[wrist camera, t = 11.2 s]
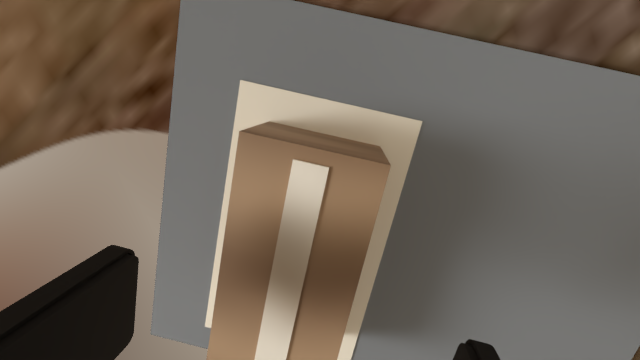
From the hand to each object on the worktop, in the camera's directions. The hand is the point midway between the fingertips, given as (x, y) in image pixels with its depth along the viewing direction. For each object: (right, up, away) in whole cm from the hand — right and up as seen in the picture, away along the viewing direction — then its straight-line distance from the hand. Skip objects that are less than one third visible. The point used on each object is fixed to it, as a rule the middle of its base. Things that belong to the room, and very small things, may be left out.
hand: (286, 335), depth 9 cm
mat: (+5, +2, +7) cm, 9 cm away
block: (0, +2, +6) cm, 7 cm away
